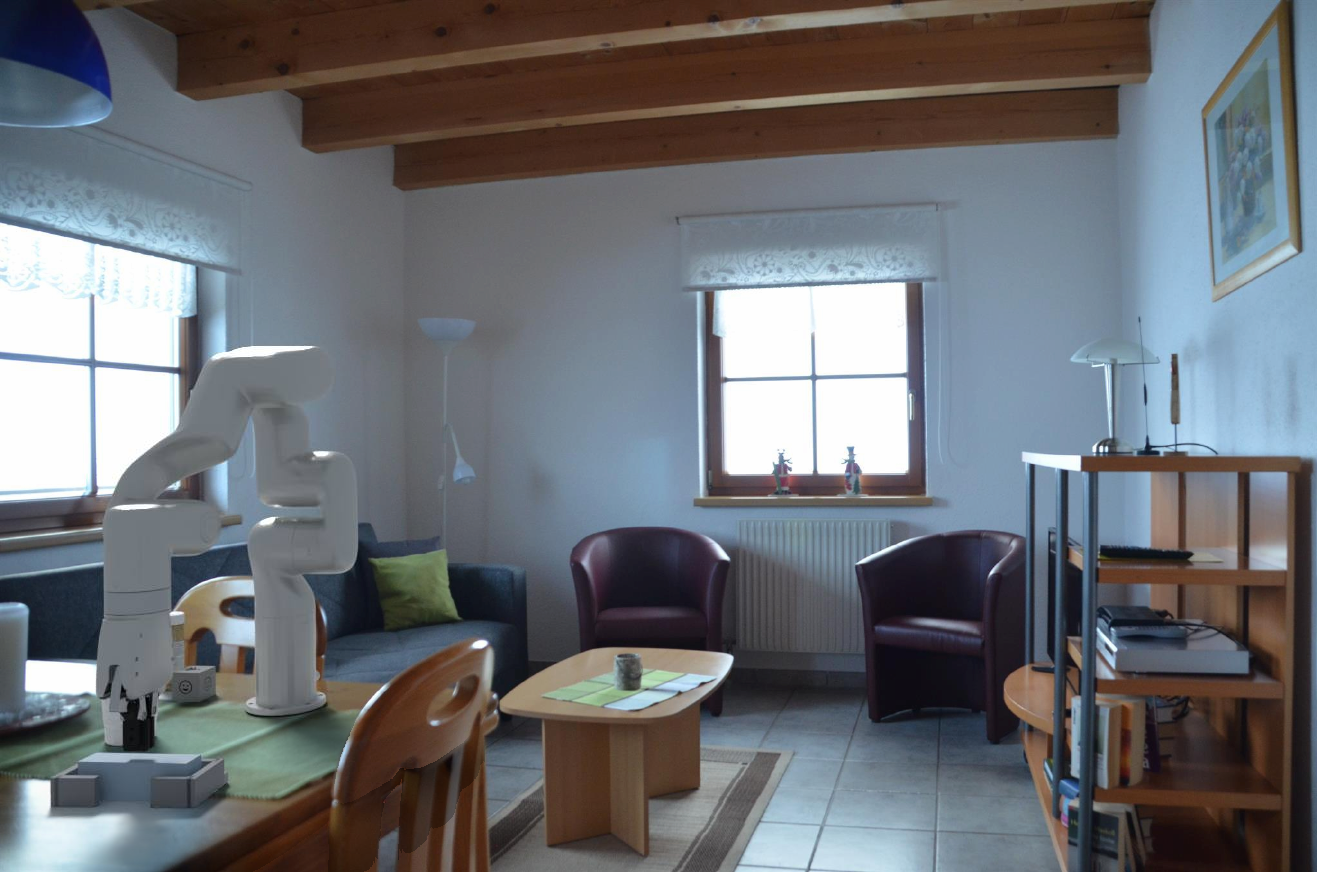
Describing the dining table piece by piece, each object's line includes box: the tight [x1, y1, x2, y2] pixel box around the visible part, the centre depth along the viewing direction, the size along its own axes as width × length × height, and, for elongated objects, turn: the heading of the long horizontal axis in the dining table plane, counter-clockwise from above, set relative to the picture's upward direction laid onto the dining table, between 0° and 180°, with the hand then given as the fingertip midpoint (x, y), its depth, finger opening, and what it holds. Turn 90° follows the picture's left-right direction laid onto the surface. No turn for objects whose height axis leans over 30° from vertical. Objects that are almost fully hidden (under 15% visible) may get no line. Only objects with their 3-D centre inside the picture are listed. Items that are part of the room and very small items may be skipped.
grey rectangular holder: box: [49, 758, 229, 809], centre depth 126 cm, size 8×18×4 cm, turn 88°
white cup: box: [100, 693, 160, 747], centre depth 149 cm, size 8×8×10 cm
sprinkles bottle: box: [165, 611, 186, 691], centre depth 179 cm, size 5×5×14 cm
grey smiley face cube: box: [171, 665, 217, 703], centre depth 172 cm, size 5×5×5 cm
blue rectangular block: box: [77, 752, 202, 803], centre depth 125 cm, size 14×4×5 cm, turn 86°
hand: (138, 749), depth 125 cm, fingers closed
